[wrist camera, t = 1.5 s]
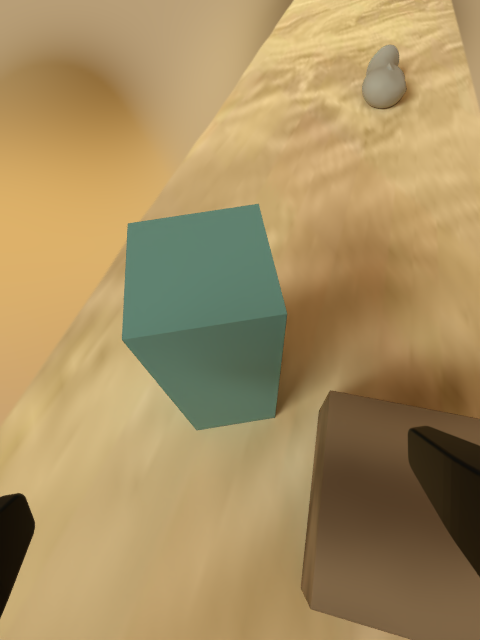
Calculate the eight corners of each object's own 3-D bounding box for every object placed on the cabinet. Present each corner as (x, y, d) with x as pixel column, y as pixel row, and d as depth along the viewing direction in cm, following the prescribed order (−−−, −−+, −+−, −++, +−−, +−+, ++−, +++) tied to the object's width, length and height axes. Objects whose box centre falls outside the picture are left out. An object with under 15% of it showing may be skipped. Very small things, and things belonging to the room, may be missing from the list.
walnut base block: (500, 647, 15) (573, 688, 11) (300, 588, 16) (310, 609, 13) (474, 442, 19) (520, 426, 16) (319, 410, 20) (330, 390, 17)
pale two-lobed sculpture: (390, 126, 38) (351, 108, 38) (396, 91, 42) (361, 74, 41) (416, 88, 34) (373, 67, 34) (421, 53, 38) (381, 34, 37)
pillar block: (274, 417, 20) (287, 313, 10) (196, 430, 20) (122, 339, 10) (260, 347, 23) (258, 203, 12) (191, 358, 23) (127, 223, 12)
